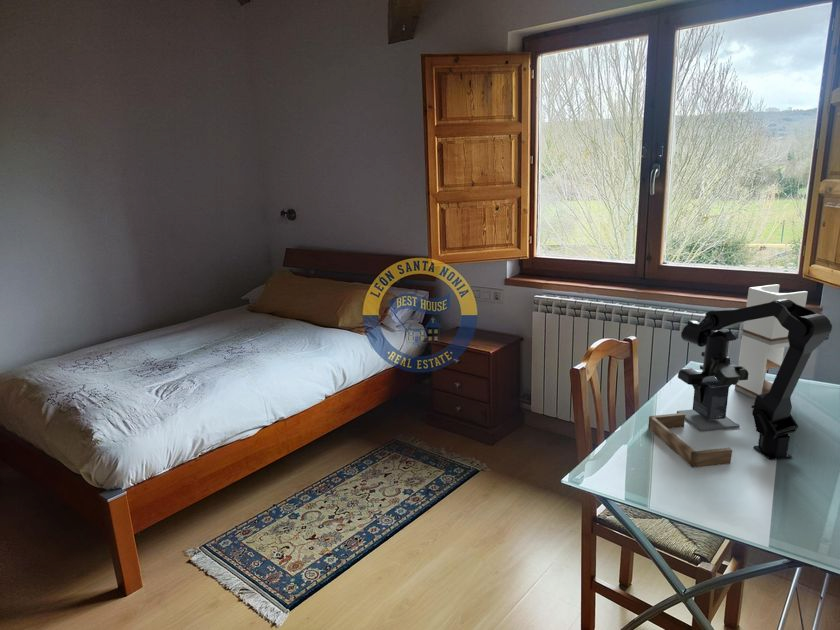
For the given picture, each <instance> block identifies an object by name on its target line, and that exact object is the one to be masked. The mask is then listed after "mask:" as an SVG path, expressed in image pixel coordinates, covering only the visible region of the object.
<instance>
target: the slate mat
mask: <svg viewBox="0 0 840 630" xmlns="http://www.w3.org/2000/svg"><path fill="white" fill-rule="evenodd" d="M676 413H684V414H685V421H686V422H687V423H688V424H690V425H691V426H693V427H694V428H695V429H696V430H698V431H700V432H701V433H702V432H711V431H720V430H721V431H722V430H723V431H724V430H731V429H732V430H733V429H734V430H735V429H740V425H739V424H738V423H737V422H735V421H734V420H732V419H731V418H729V417H728V416H726V418H725V419H718V420H707V419H706V418H704V417H703V416H702V415H700V414H699V413H697V412H696V411H694V410H693V408H692V409H685V410H684V409H682V410H676Z"/></svg>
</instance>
